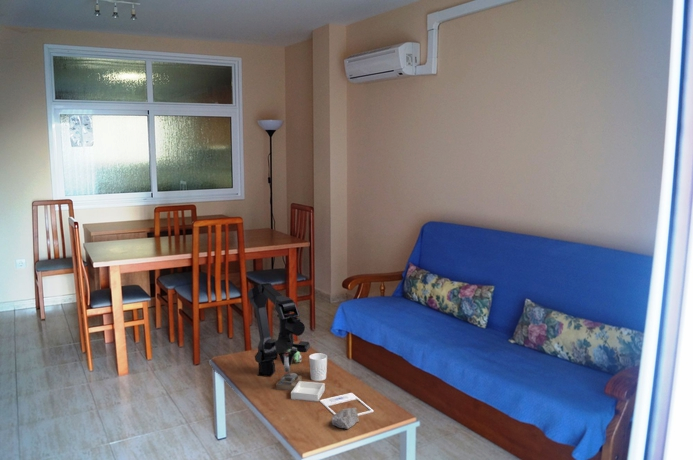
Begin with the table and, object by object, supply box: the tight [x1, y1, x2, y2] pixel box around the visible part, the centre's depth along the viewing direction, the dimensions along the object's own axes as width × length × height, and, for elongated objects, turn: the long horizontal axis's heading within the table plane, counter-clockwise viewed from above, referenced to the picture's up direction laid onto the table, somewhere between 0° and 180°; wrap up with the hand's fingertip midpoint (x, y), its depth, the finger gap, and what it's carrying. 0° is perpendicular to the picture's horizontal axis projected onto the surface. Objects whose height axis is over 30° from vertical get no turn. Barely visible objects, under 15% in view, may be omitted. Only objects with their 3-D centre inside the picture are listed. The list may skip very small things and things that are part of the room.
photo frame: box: [319, 392, 374, 417], centre depth 221 cm, size 15×1×18 cm
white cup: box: [308, 352, 328, 382], centre depth 247 cm, size 8×8×10 cm
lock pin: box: [283, 351, 291, 373], centre depth 236 cm, size 3×3×8 cm
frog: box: [287, 349, 302, 364], centre depth 267 cm, size 12×10×9 cm
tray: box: [290, 380, 326, 403], centre depth 231 cm, size 11×11×3 cm
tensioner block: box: [275, 372, 303, 392], centre depth 240 cm, size 10×8×4 cm
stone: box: [331, 407, 360, 430], centre depth 207 cm, size 8×10×6 cm
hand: (287, 365), depth 237 cm, fingers closed on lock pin, 2 cm apart
